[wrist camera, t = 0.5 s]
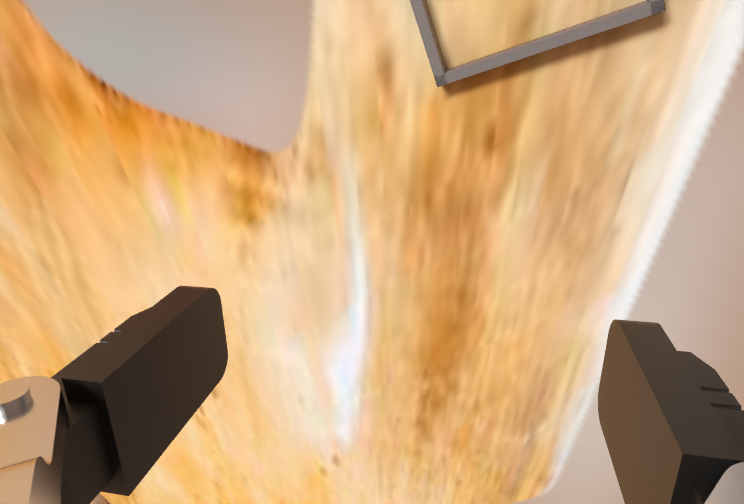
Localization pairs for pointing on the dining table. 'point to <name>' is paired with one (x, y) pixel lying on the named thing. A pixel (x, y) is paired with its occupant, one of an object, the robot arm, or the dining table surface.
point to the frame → (526, 49)
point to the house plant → (99, 500)
